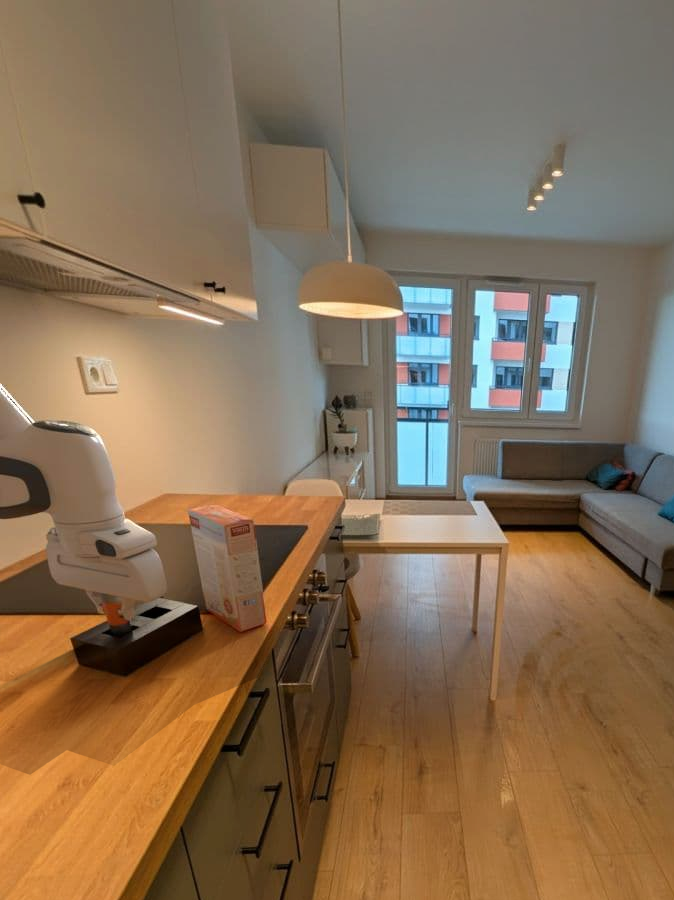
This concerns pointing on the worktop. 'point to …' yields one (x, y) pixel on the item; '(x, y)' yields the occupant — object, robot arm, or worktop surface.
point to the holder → (138, 637)
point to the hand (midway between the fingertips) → (117, 615)
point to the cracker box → (228, 566)
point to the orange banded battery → (115, 616)
